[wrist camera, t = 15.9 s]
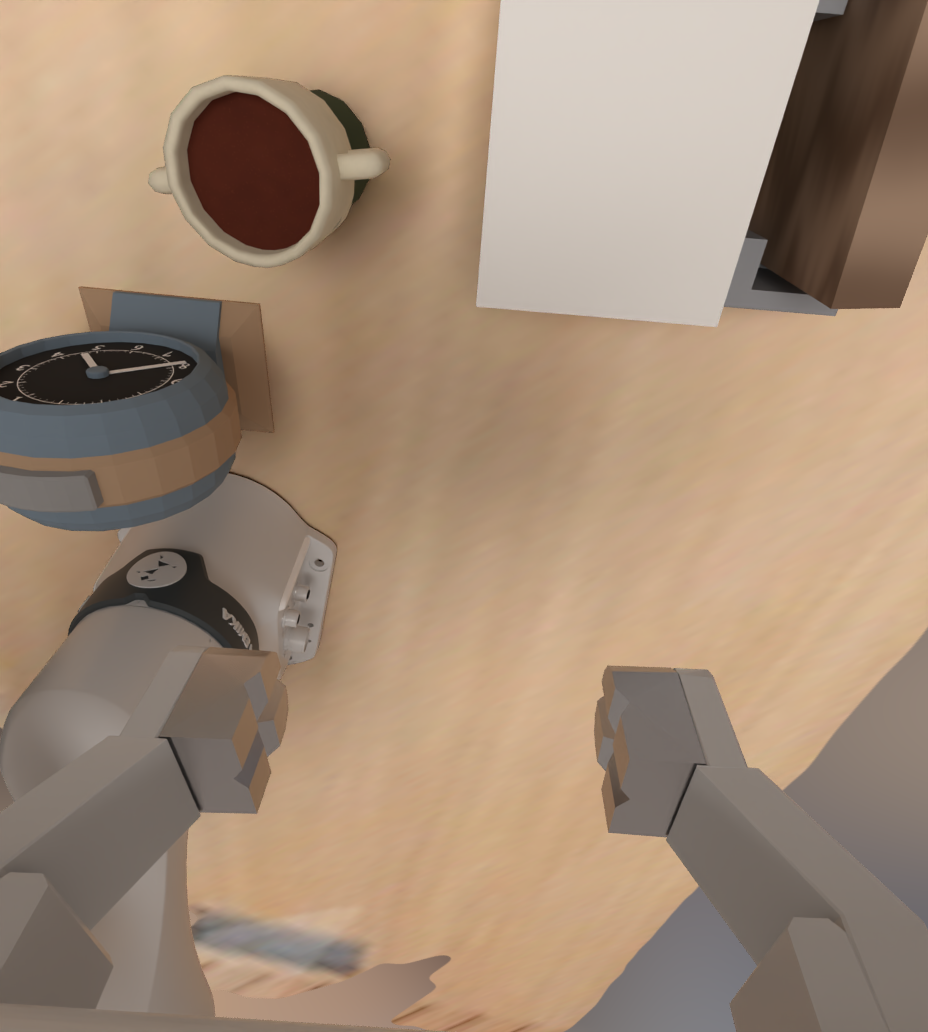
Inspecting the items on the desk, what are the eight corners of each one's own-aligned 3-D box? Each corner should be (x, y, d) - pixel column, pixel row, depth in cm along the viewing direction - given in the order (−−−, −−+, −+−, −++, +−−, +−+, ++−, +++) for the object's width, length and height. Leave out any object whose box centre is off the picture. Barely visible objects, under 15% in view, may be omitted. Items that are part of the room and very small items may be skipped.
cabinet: (785, 283, 39) (872, 340, 30) (480, 257, 39) (476, 306, 30) (907, -53, 30) (1086, -118, 21) (509, -88, 30) (514, -168, 21)
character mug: (248, 225, 38) (154, 276, 28) (214, 88, 34) (88, 87, 24) (418, 213, 38) (387, 261, 27) (403, 71, 33) (360, 62, 23)
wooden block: (809, 250, 37) (922, 307, 27) (742, 252, 37) (831, 308, 27) (881, -8, 30) (1068, -58, 20) (798, -5, 30) (944, -52, 20)
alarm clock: (274, 305, 41) (154, 419, 27) (287, 432, 47) (193, 583, 32) (65, 285, 41) (-169, 388, 27) (103, 415, 47) (-74, 559, 32)
